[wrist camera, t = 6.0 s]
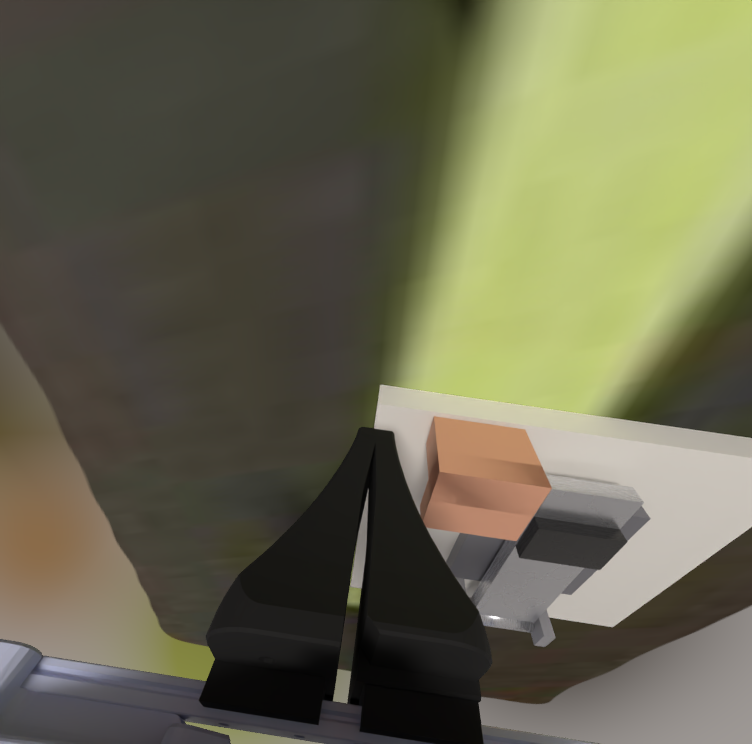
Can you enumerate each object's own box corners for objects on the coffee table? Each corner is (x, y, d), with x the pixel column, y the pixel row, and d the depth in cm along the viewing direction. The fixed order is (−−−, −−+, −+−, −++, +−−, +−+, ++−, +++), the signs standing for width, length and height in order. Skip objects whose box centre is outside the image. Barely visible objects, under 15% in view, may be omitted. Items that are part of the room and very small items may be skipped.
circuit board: (602, 603, 25) (633, 673, 21) (353, 565, 25) (344, 628, 21) (794, 444, 15) (912, 526, 11) (380, 384, 15) (372, 446, 12)
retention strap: (521, 611, 21) (529, 642, 20) (464, 602, 22) (468, 632, 20) (628, 481, 14) (653, 515, 13) (542, 468, 14) (557, 500, 13)
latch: (498, 480, 15) (516, 541, 13) (418, 469, 15) (420, 526, 13) (525, 429, 13) (552, 488, 11) (433, 416, 13) (439, 471, 11)
